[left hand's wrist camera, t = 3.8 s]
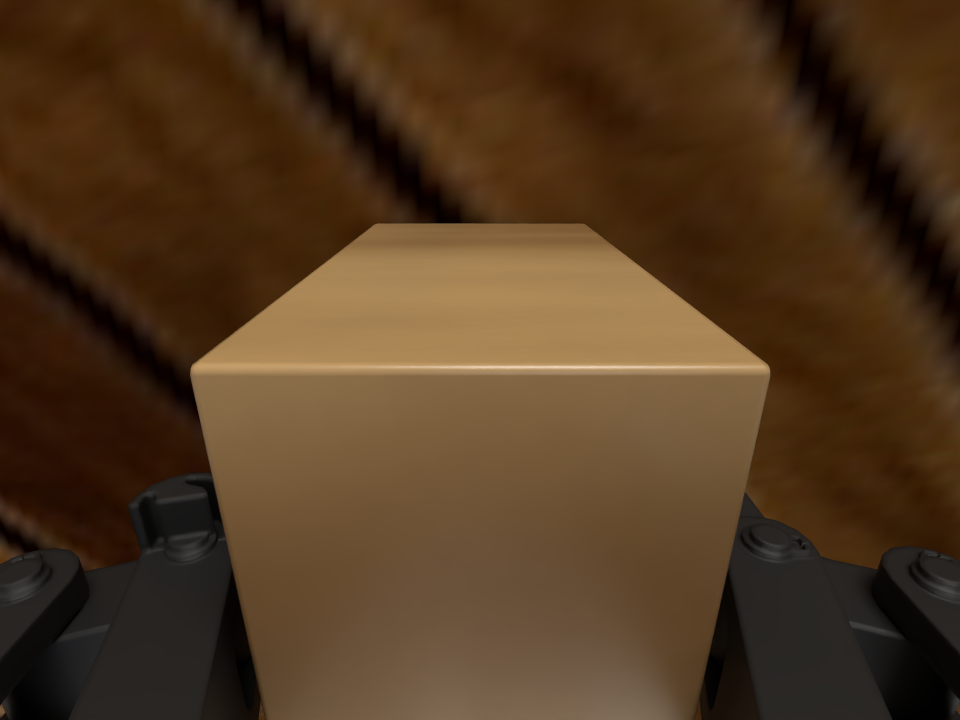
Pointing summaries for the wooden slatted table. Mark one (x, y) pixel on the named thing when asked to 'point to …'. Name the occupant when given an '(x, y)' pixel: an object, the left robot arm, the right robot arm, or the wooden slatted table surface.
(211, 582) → the left robot arm
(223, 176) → the wooden slatted table surface
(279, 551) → the bar
